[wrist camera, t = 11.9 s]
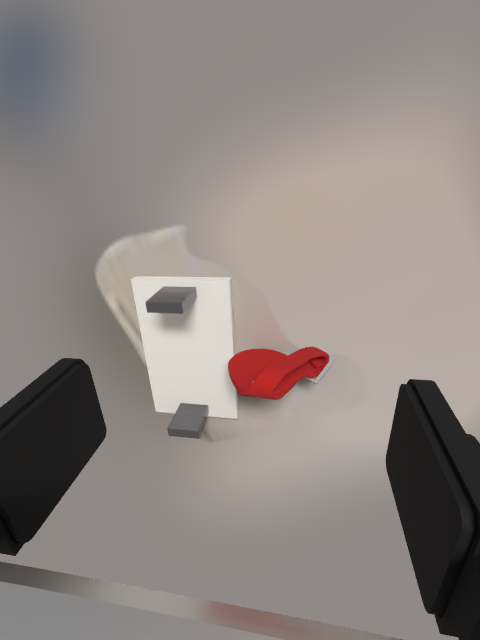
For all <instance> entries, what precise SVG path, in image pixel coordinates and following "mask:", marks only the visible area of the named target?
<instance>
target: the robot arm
mask: <svg viewBox="0 0 480 640" xmlns="http://www.w3.org/2000/svg"><path fill="white" fill-rule="evenodd" d="M105 436H106V426H105V422H104V419H103V415H102V411H101V407H100V404H99V400H98V397H97V393H96V389H95V386H94V382H93V379H92V375H91V371H90V368H89V366H88V365H87V364H85V362H84V361H83V360H81V359H72V358H63V359H61V360H59V361H58V362H57V363H55V364H54V365H53V366H52V367H50V368H49V369H48V370H47V371H45V372H44V373H43V374H42V375H40V376H39V377H38V378H37V379H36V380H34V381H33V382H32V383H31V384H29V385H28V386H27V387H26V388H25V389H23V390H22V391H21V392H19V393H18V394H17V395H16V396H14V397H13V398H12V399H11V400H9V401H8V402H7V403H6V404H4V405H3V406H2V407H1V408H0V553H2V554H7V555H13V556H16V554H17V553H18V552H19V550H20V549H21V548H22V546H23V544H25V543H26V542H28V541H30V540H31V539H32V538H33V537H34V535H35V534H36V533H37V531H38V530H39V529H40V527H41V526H42V524H43V523H44V522H45V520H46V519H47V517H48V516H49V515H50V513H51V512H52V510H53V509H54V508H55V506H56V505H57V504H58V502H59V501H60V500H61V498H62V496H63V495H64V494H65V493H66V491H67V490H68V489H69V487H70V486H71V484H72V483H73V482H74V480H75V479H76V477H77V476H78V475H79V473H80V472H81V471H82V469H83V468H84V466H85V465H86V464H87V462H88V461H89V459H90V458H91V457H92V455H93V454H94V453H95V451H96V450H97V449H98V447H99V446H100V444H101V443H102V442H103V440H104V438H105ZM386 468H387V473H388V476H389V480H390V484H391V487H392V491H393V494H394V498H395V502H396V506H397V509H398V513H399V517H400V520H401V524H402V527H403V531H404V535H405V539H406V542H407V546H408V549H409V553H410V557H411V561H412V564H413V568H414V571H415V575H416V579H417V583H418V586H419V590H420V594H421V597H422V601H423V604H424V607H425V609H426V611H427V612H428V613H429V614H434V615H435V618H436V622H437V625H438V628H439V632H440V634H444V635H449V636H455V637H458V638H459V640H480V444H479V442H478V441H477V439H476V438H475V437H474V436H472V435H470V434H466V433H465V431H464V430H463V428H462V426H461V424H460V423H459V421H458V419H457V418H456V416H455V415H454V413H453V411H452V410H451V408H450V406H449V405H448V403H447V402H446V400H445V398H444V396H443V395H442V393H441V392H440V390H439V388H438V386H437V385H436V383H435V382H434V381H431V380H414V379H410V380H409V381H408V382H407V384H401V386H400V388H399V394H398V399H397V403H396V408H395V414H394V419H393V424H392V430H391V434H390V439H389V444H388V449H387V454H386ZM0 640H401V639H396V638H391V637H387V636H382V635H377V634H373V633H368V632H364V631H359V630H354V629H350V628H345V627H340V626H335V625H331V624H326V623H322V622H317V621H312V620H306V619H301V618H296V617H291V616H286V615H281V614H276V613H271V612H265V611H260V610H255V609H250V608H245V607H240V606H234V605H229V604H224V603H219V602H214V601H208V600H204V599H198V598H193V597H188V596H183V595H178V594H172V593H167V592H162V591H156V590H151V589H145V588H141V587H135V586H130V585H124V584H119V583H114V582H108V581H103V580H98V579H92V578H87V577H81V576H76V575H71V574H66V573H61V572H54V571H50V570H44V569H39V568H32V567H27V566H22V565H17V564H11V563H6V562H0Z"/></svg>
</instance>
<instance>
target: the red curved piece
mask: <svg viewBox="0 0 480 640" xmlns="http://www.w3.org/2000/svg"><path fill="white" fill-rule="evenodd" d="M333 362H334V359H332V358H330V357H329V355H328V354H327V353H326V352H324V351H322V350H320V349H318V348H315V347H306V348H303V349H300V350H298V351H296V352H294V353H292V354H290V355H289V356H287V355H285V354H283V353H280V352H277V351H274V350H268V349H250V350H245V351H242V352H240V353H238V354H236V355H234V356H233V357H232V358H231V359H230V360H229V362H228V371H229V376H230V378H231V381H232V383H233V385H234V386H235V388H236V390H237V392H238V393H239V394H240V395H243V396H251V397H255V398H266V399H280V398H282V397H283V396H284V395H285V394H286V393H287V392H288V391H290V390H291V389H292V388H293V387H294V385H295V384H296V383H297V381H299V380H300V379H302V378H303V377H304V378H306V379H308V380H309V381H311V382H313V383H314V384H317V383H318V382H319V380H320V379H321V378H322V376H323V375H324V374H325V372H326V371H327V370H328V368H329V367H330V366H331V365H332V363H333ZM316 376H318V377H317V378H316V379H315V380H314V379H312V378H314V377H316Z"/></svg>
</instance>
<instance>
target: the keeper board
mask: <svg viewBox="0 0 480 640" xmlns="http://www.w3.org/2000/svg"><path fill="white" fill-rule="evenodd" d="M131 283H132V288H133V293H134V299H135V304H136V309H137V314H138V320H139V325H140V330H141V336H142V341H143V346H144V351H145V357H146V362H147V367H148V373H149V378H150V383H151V388H152V394H153V399H154V404H155V409H156V412H164V413H175V415H174V417H173V419H172V421H171V423H170V424H169V426H168V434H169V436H178V437H188V438H198V439H199V437H200V434H201V431H202V429H203V426H204V424H205V421H206V418H207V416H210V417H221V418H232V419H237V418H238V415H239V407H238V392H237V390H236V388H235V386H234V385H233V383H232V381H231V378H230V376H229V371H228V362H229V360H230V359H231V358H232V357H233V356H234V355H236V352H235V334H234V316H233V298H232V280H231V278H222V277H142V276H135V277H134V278H132V279H131Z"/></svg>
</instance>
